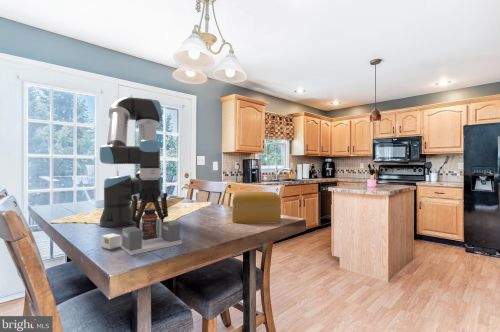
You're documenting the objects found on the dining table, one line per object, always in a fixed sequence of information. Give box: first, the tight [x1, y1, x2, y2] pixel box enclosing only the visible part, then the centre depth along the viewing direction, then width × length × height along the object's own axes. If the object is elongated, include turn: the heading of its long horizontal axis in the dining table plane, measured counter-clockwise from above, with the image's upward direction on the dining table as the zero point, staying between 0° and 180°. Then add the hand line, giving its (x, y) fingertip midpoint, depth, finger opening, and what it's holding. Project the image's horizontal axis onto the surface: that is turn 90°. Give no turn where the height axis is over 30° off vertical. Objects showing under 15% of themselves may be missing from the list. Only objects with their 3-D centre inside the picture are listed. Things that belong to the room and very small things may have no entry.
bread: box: [231, 191, 282, 224], centre depth 137 cm, size 24×13×15 cm, turn 93°
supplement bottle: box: [141, 207, 159, 240], centre depth 104 cm, size 6×6×11 cm
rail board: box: [120, 220, 183, 256], centre depth 94 cm, size 10×18×7 cm, turn 133°
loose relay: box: [100, 232, 122, 250], centre depth 92 cm, size 5×4×4 cm
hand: (149, 236), depth 104 cm, fingers open, 7 cm apart
